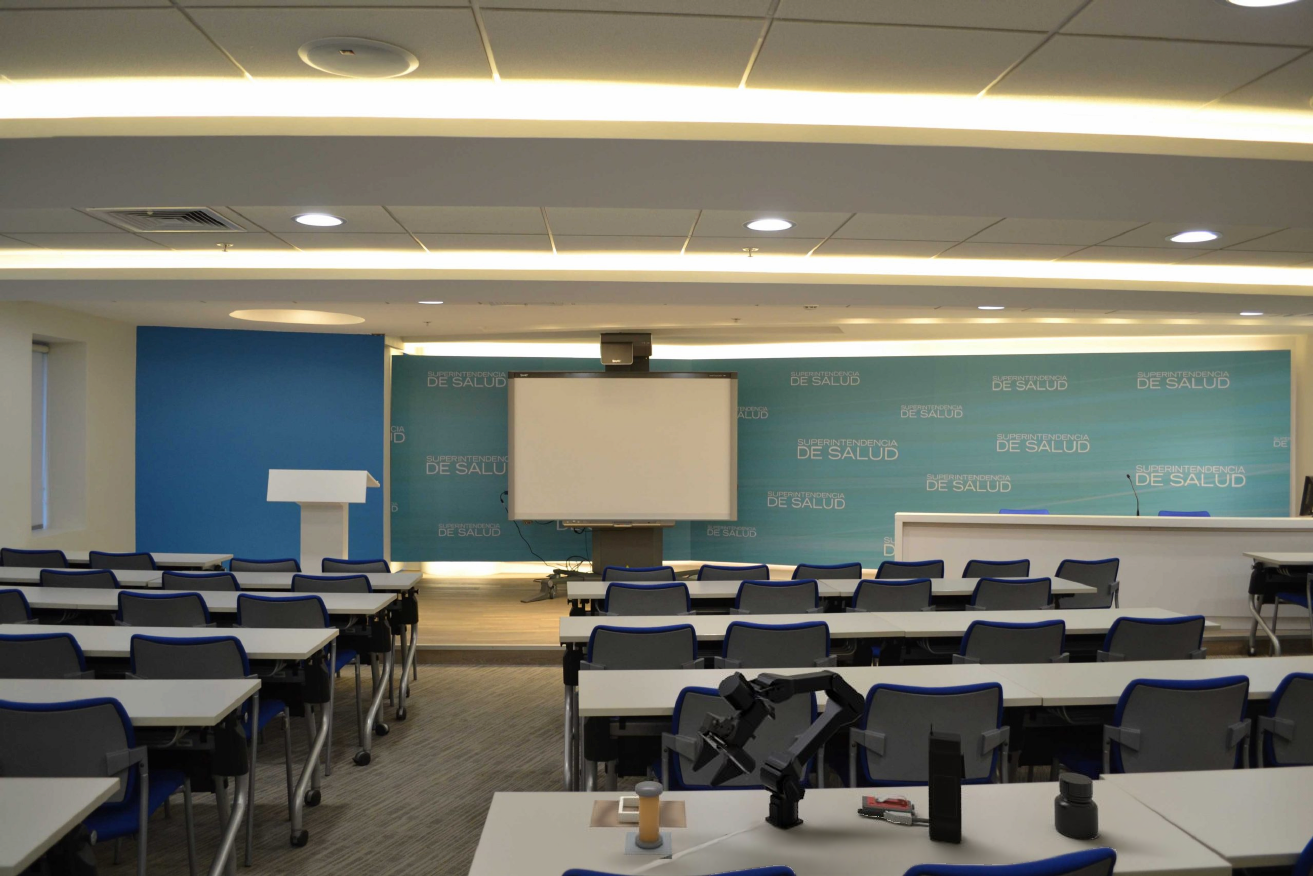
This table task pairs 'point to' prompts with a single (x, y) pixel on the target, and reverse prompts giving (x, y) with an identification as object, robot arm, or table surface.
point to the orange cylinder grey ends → (649, 815)
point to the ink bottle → (1076, 807)
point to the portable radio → (945, 786)
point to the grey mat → (664, 849)
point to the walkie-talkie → (890, 809)
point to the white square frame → (628, 815)
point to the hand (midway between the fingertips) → (702, 778)
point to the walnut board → (608, 811)
